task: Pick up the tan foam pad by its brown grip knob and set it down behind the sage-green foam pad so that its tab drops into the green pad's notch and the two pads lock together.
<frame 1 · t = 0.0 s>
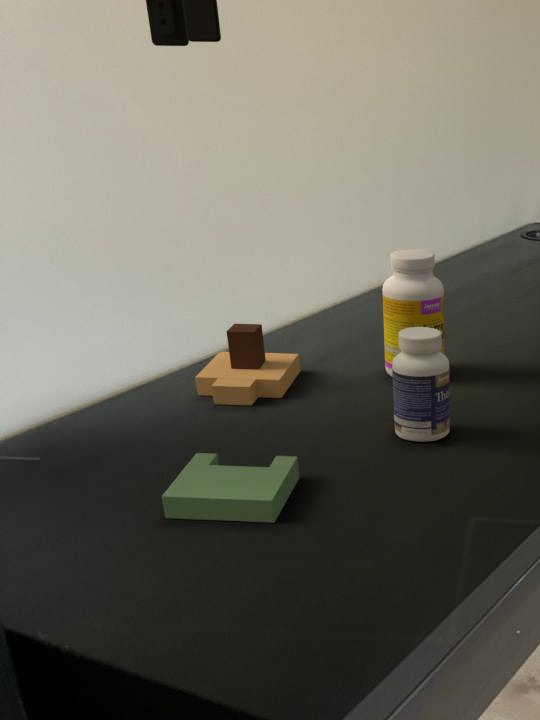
hand: (188, 43, 92), 32 cm above the table, tool pointing down, fingers open, 9 cm apart
tan pad: (250, 383, 108), on the table
supplement bottle: (415, 375, 111), on the table
green pad: (235, 497, 83), on the table
pill bottle: (422, 435, 96), on the table
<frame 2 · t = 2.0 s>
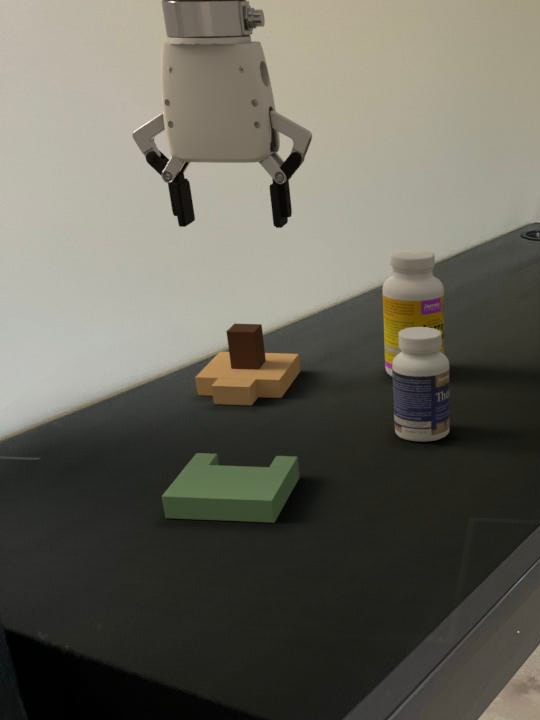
hand: (234, 224, 99), 16 cm above the table, tool pointing down, fingers open, 9 cm apart
nothing on the table moved.
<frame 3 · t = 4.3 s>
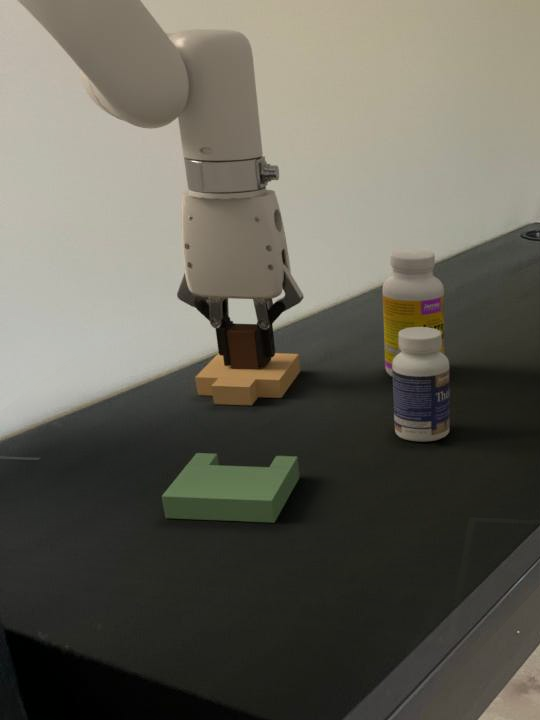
hand: (248, 361, 107), 2 cm above the table, tool pointing down, fingers closed on tan pad, 3 cm apart
tan pad: (250, 383, 108), on the table, touching gripper
everything else where it was.
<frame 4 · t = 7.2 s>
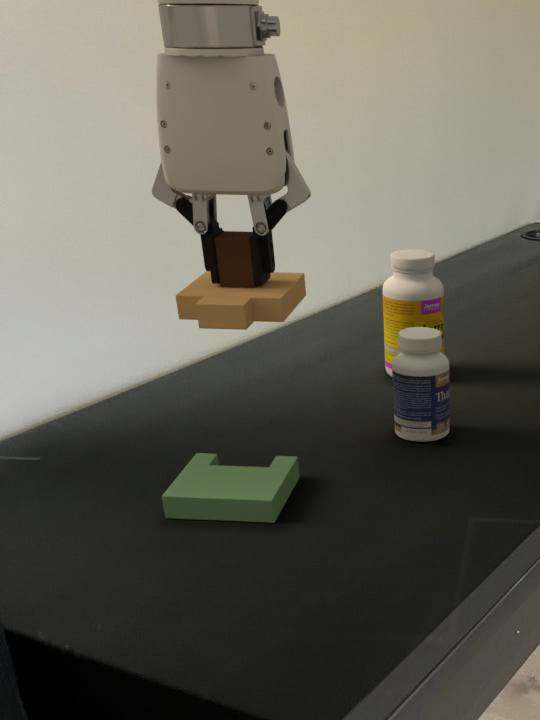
hand: (241, 278, 86), 15 cm above the table, tool pointing down, fingers closed on tan pad, 3 cm apart
tan pad: (245, 307, 87), point 13 cm above the table, touching gripper
everything else where it was.
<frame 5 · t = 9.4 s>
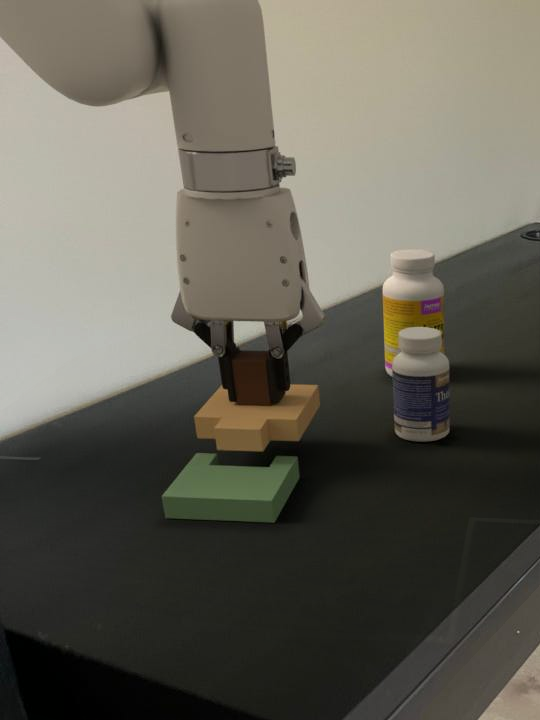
hand: (257, 395, 88), 6 cm above the table, tool pointing down, fingers closed on tan pad, 3 cm apart
tan pad: (261, 421, 89), point 3 cm above the table, touching gripper
everything else where it was.
when the fingers open (2 cm above the table, at t = 10.5 s): tan pad stays where it is, on the table.
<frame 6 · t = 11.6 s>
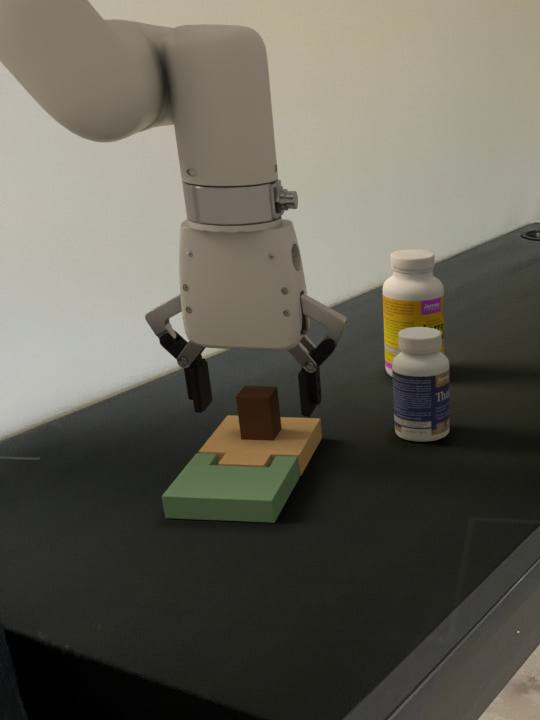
hand: (256, 409, 89), 4 cm above the table, tool pointing down, fingers open, 9 cm apart
tan pad: (264, 454, 91), on the table
everything else where it was.
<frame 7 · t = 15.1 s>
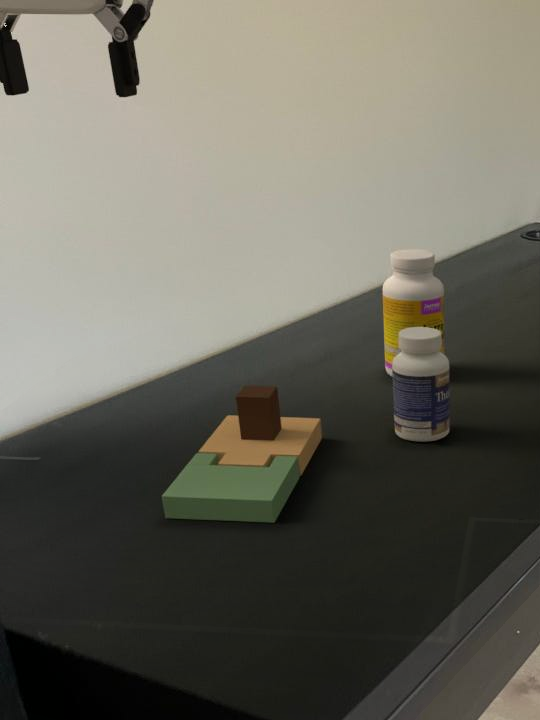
hand: (72, 95, 85), 28 cm above the table, tool pointing down, fingers open, 9 cm apart
nothing on the table moved.
at the end: tan pad 0.2 cm from the target spot on the table beside the green pad, on the table; tan pad tilted 0° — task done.
